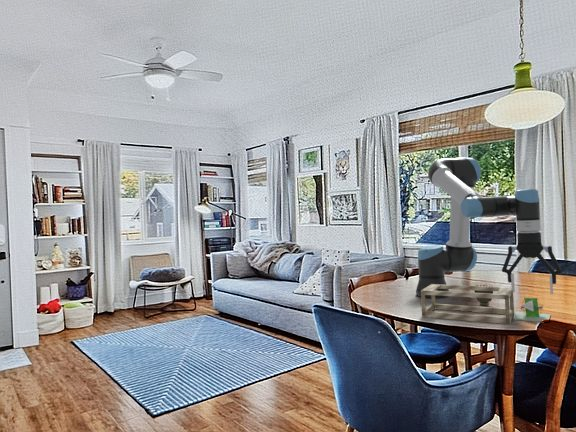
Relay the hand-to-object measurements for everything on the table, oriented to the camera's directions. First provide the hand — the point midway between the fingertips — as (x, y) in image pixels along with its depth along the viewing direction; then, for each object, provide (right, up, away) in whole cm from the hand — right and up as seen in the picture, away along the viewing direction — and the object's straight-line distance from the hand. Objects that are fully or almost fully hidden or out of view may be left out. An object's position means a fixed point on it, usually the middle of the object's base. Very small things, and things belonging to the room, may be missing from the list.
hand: (532, 292), depth 156 cm
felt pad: (0, -9, 0) cm, 9 cm away
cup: (-7, -10, +23) cm, 26 cm away
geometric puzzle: (0, -9, 0) cm, 9 cm away
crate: (-20, -10, +8) cm, 24 cm away
